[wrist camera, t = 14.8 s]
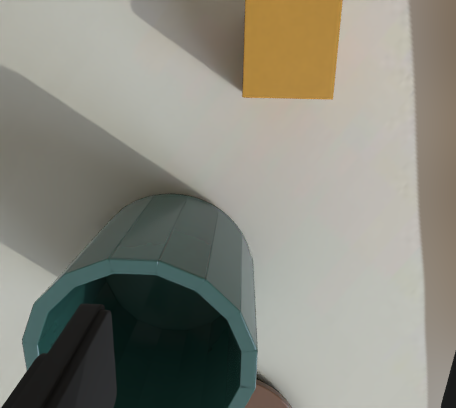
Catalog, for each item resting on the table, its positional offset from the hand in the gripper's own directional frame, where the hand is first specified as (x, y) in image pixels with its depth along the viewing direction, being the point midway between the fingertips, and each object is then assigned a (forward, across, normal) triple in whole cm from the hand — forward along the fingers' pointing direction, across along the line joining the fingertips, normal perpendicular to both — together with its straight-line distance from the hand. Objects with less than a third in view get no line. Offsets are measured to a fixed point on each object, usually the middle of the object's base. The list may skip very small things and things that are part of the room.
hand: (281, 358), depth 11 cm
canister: (+18, +6, +7) cm, 20 cm away
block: (+18, -1, -8) cm, 20 cm away
